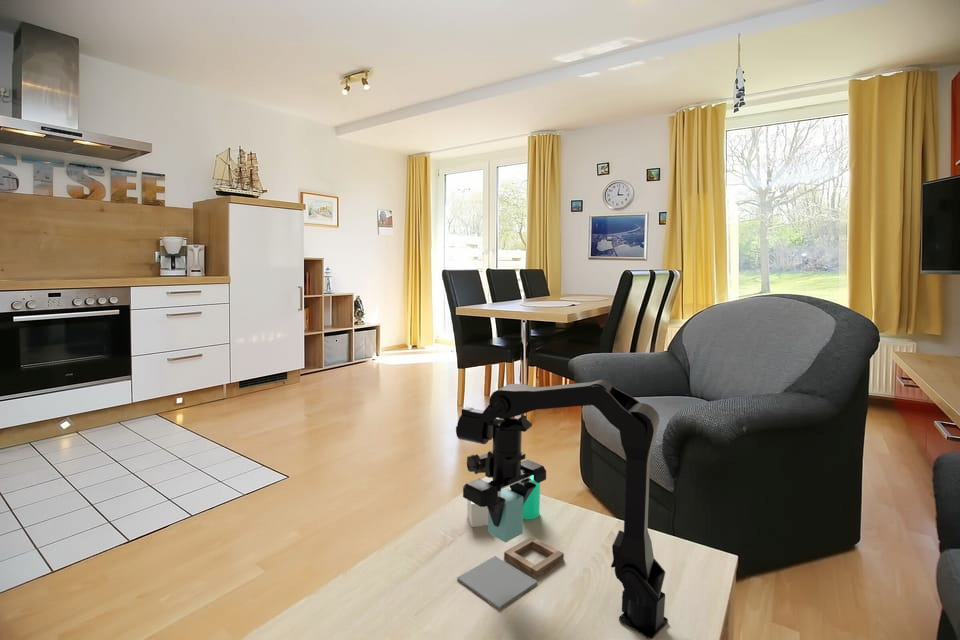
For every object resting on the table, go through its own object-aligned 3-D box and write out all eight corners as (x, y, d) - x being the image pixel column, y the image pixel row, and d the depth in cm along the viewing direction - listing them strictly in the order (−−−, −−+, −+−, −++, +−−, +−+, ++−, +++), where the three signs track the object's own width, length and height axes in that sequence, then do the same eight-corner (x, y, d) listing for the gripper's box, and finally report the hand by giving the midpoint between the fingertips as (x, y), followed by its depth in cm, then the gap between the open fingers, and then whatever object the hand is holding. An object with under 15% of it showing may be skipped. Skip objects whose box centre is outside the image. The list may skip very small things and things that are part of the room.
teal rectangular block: (522, 533, 102) (523, 496, 101) (505, 542, 99) (506, 504, 98) (505, 523, 106) (505, 487, 105) (487, 532, 103) (488, 495, 102)
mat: (537, 583, 101) (537, 581, 101) (499, 609, 94) (499, 607, 94) (495, 558, 110) (495, 555, 110) (457, 579, 102) (457, 577, 102)
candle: (539, 508, 132) (540, 464, 131) (539, 520, 126) (540, 474, 125) (516, 507, 133) (517, 463, 131) (515, 518, 127) (516, 473, 125)
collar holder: (563, 559, 110) (563, 553, 109) (536, 577, 103) (536, 571, 103) (531, 542, 116) (531, 536, 116) (504, 558, 110) (504, 551, 110)
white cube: (489, 513, 130) (490, 490, 129) (495, 525, 124) (495, 502, 123) (467, 515, 129) (467, 492, 128) (471, 527, 123) (471, 504, 122)
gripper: (510, 427, 112) (509, 493, 114) (445, 447, 100) (445, 521, 102) (548, 441, 104) (546, 511, 106) (483, 465, 92) (482, 545, 94)
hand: (505, 521), depth 102 cm, fingers closed on teal rectangular block, 5 cm apart
